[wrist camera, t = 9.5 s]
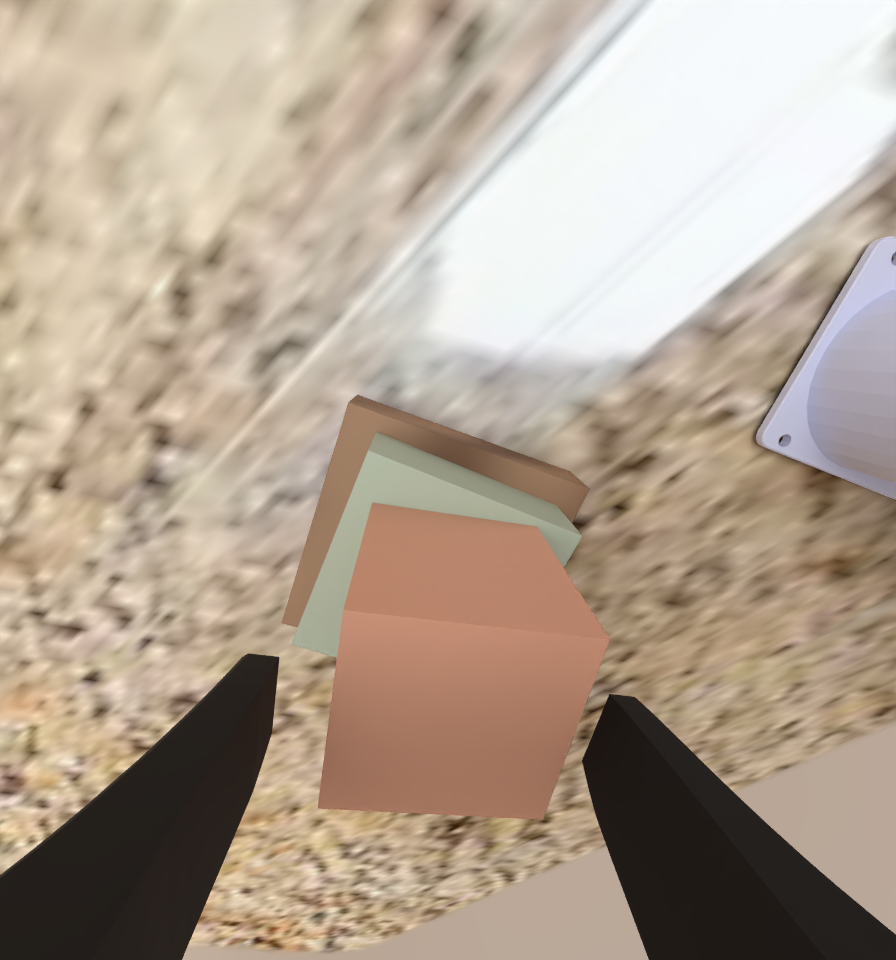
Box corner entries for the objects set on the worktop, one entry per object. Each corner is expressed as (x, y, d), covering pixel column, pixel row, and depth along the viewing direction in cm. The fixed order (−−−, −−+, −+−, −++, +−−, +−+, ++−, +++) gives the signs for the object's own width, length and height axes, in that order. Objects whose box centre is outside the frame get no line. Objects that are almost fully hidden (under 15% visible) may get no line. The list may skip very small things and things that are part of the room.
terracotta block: (537, 526, 13) (610, 639, 8) (500, 658, 14) (542, 819, 9) (372, 502, 12) (343, 610, 7) (352, 643, 13) (317, 808, 9)
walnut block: (566, 468, 17) (589, 488, 15) (485, 637, 20) (494, 677, 17) (358, 393, 16) (348, 402, 13) (299, 586, 18) (281, 623, 16)
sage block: (556, 505, 15) (582, 536, 13) (475, 651, 17) (485, 701, 15) (376, 431, 14) (368, 450, 11) (309, 598, 16) (291, 644, 13)
